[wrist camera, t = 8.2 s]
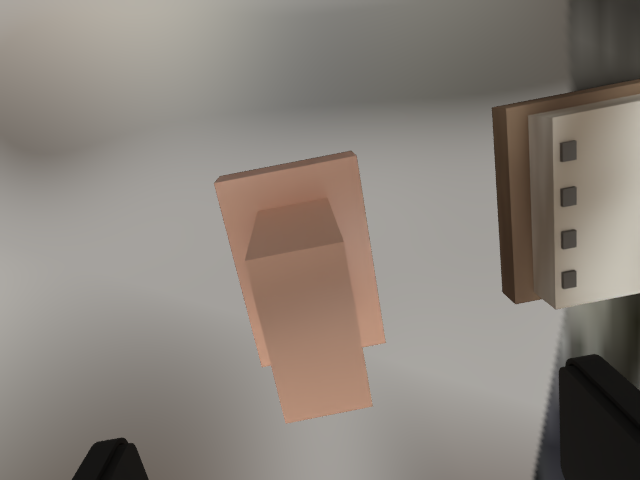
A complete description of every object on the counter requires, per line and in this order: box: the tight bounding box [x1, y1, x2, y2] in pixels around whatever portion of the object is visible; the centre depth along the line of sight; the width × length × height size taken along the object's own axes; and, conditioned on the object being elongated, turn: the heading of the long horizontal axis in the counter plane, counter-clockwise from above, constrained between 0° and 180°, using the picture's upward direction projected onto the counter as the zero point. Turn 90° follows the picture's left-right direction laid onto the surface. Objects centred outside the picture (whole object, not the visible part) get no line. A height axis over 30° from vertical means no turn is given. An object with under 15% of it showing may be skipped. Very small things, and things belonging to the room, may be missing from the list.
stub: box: [214, 151, 386, 423], centre depth 18 cm, size 6×9×8 cm, turn 10°
